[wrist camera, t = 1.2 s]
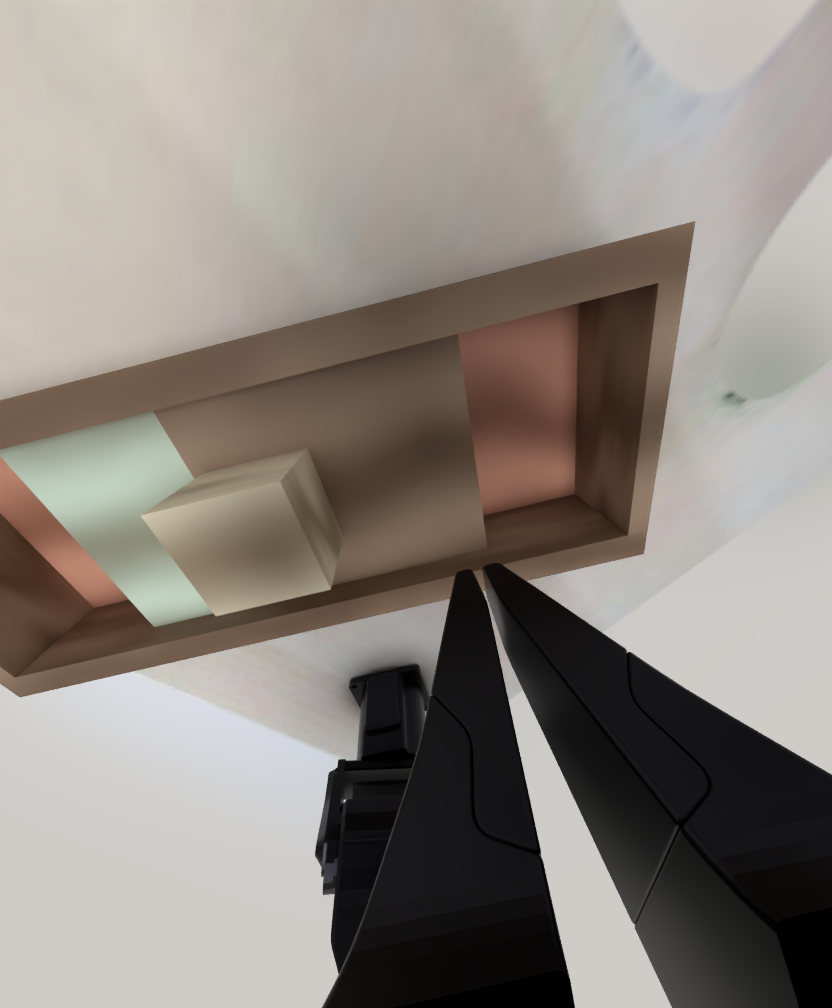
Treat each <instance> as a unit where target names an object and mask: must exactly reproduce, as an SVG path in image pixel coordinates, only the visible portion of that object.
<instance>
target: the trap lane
mask: <svg viewBox="0 0 832 1008" xmlns="http://www.w3.org/2000/svg"><path fill="white" fill-rule="evenodd" d="M694 226H695V221H694V222H690V223H686V224H682V225H679V226H675V227H671V228H667V229H663V230H659V231H655V232H651V233H648V234H644V235H640V236H636V237H632V238H628V239H624V240H620V241H617V242H613V243H609V244H605V245H601V246H597V247H593V248H589V249H586V250H582V251H578V252H574V253H570V254H566V255H562V256H559V257H555V258H551V259H547V260H543V261H539V262H535V263H531V264H528V265H524V266H520V267H516V268H512V269H508V270H504V271H500V272H497V273H493V274H489V275H485V276H481V277H477V278H473V279H469V280H466V281H462V282H458V283H454V284H450V285H446V286H442V287H438V288H435V289H431V290H427V291H423V292H419V293H415V294H411V295H407V296H404V297H400V298H396V299H392V300H388V301H384V302H380V303H376V304H373V305H369V306H365V307H361V308H357V309H353V310H349V311H345V312H342V313H338V314H334V315H330V316H326V317H322V318H318V319H314V320H311V321H307V322H303V323H299V324H295V325H291V326H287V327H283V328H280V329H276V330H272V331H268V332H264V333H260V334H256V335H252V336H249V337H245V338H241V339H237V340H233V341H229V342H225V343H222V344H218V345H214V346H210V347H206V348H202V349H198V350H194V351H191V352H187V353H183V354H179V355H175V356H171V357H167V358H163V359H160V360H156V361H152V362H148V363H144V364H140V365H136V366H132V367H129V368H125V369H121V370H117V371H113V372H109V373H105V374H101V375H98V376H94V377H90V378H86V379H82V380H78V381H74V382H70V383H67V384H63V385H59V386H55V387H51V388H47V389H43V390H39V391H36V392H32V393H28V394H24V395H20V396H16V397H12V398H8V399H5V400H1V401H0V684H2V685H3V686H5V687H6V688H8V689H9V690H10V691H12V692H13V693H15V694H16V695H17V696H19V697H23V696H27V695H32V694H36V693H41V692H45V691H49V690H54V689H58V688H62V687H67V686H71V685H75V684H80V683H84V682H88V681H92V680H97V679H102V678H106V677H110V676H115V675H119V674H123V673H128V672H132V671H136V670H141V669H145V668H150V667H154V666H158V665H163V664H167V663H171V662H176V661H180V660H184V659H189V658H193V657H197V656H202V655H206V654H210V653H215V652H219V651H223V650H228V649H232V648H236V647H241V646H245V645H250V644H254V643H258V642H263V641H267V640H271V639H276V638H280V637H284V636H289V635H293V634H297V633H302V632H306V631H310V630H315V629H319V628H323V627H328V626H332V625H336V624H341V623H345V622H350V621H354V620H358V619H363V618H367V617H371V616H376V615H380V614H384V613H389V612H393V611H397V610H402V609H406V608H410V607H415V606H419V605H423V604H428V603H432V602H437V601H441V600H445V599H450V598H451V593H452V588H453V583H454V579H455V574H456V572H457V571H459V570H464V569H468V568H471V569H472V570H473V572H474V574H475V576H476V579H477V581H478V583H479V585H480V587H481V590H482V591H484V590H485V584H484V577H483V571H482V567H483V565H485V564H490V563H494V562H499V563H501V564H502V565H504V566H505V567H506V568H508V569H509V570H511V571H512V572H514V573H515V574H517V575H518V576H520V577H521V578H523V579H524V580H525V581H528V580H532V579H537V578H541V577H545V576H550V575H554V574H558V573H563V572H567V571H571V570H576V569H580V568H584V567H589V566H593V565H597V564H602V563H606V562H610V561H615V560H619V559H623V558H628V557H632V556H637V555H641V554H644V549H645V542H646V536H647V529H648V523H649V516H650V510H651V504H652V497H653V491H654V484H655V478H656V471H657V465H658V458H659V452H660V445H661V439H662V433H663V426H664V420H665V413H666V407H667V400H668V394H669V387H670V381H671V374H672V368H673V361H674V355H675V349H676V342H677V336H678V329H679V323H680V316H681V310H682V303H683V297H684V290H685V284H686V277H687V271H688V265H689V258H690V252H691V245H692V239H693V232H694ZM304 448H308V450H309V453H310V455H311V458H312V460H313V463H314V465H315V468H316V470H317V473H318V475H319V478H320V480H321V483H322V485H323V488H324V490H325V493H326V495H327V498H328V500H329V503H330V505H331V508H332V510H333V513H334V515H335V517H336V520H337V522H338V525H339V527H340V530H341V532H342V535H343V540H342V545H341V549H340V553H339V557H338V562H337V566H336V570H335V574H334V579H333V583H332V587H331V590H327V591H323V592H318V593H314V594H310V595H305V596H301V597H297V598H293V599H288V600H284V601H280V602H275V603H271V604H267V605H263V606H258V607H254V608H250V609H245V610H241V611H237V612H233V613H228V614H224V615H220V616H215V615H214V613H213V612H212V611H211V609H210V608H209V607H208V605H207V604H206V603H205V601H204V600H203V599H202V597H201V596H200V595H199V593H198V592H197V591H196V589H195V588H194V587H193V585H192V584H191V583H190V581H189V580H188V579H187V577H186V576H185V575H184V573H183V572H182V571H181V569H180V568H179V567H178V565H177V564H176V563H175V561H174V560H173V559H172V557H171V556H170V555H169V553H168V552H167V551H166V549H165V548H164V547H163V545H162V544H161V542H160V541H159V540H158V538H157V537H156V536H155V534H154V533H153V532H152V530H151V529H150V528H149V526H148V525H147V524H146V522H145V521H144V520H143V518H142V517H141V516H140V515H142V514H143V513H145V512H146V511H148V510H149V509H151V508H152V507H154V506H155V505H157V504H158V503H160V502H161V501H163V500H164V499H166V498H167V497H169V496H170V495H172V494H173V493H175V492H176V491H178V490H179V489H181V488H182V487H184V486H185V485H187V484H188V483H190V482H191V481H193V480H194V479H195V478H197V477H198V476H200V475H201V474H203V473H207V472H211V471H215V470H219V469H223V468H227V467H231V466H235V465H240V464H244V463H248V462H252V461H256V460H260V459H264V458H268V457H272V456H276V455H280V454H284V453H288V452H292V451H296V450H300V449H304Z"/></svg>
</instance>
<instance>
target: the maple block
mask: <svg viewBox="0 0 832 1008" xmlns="http://www.w3.org/2000/svg"><path fill="white" fill-rule="evenodd" d="M140 516H141V517H142V518H143V520H144V521H145V522H146V524H147V525H148V526H149V528H150V529H151V530H152V532H153V533H154V534H155V536H156V537H157V538H158V540H159V541H160V542H161V544H162V545H163V547H164V548H165V549H166V551H167V552H168V553H169V555H170V556H171V557H172V559H173V560H174V561H175V563H176V564H177V565H178V567H179V568H180V569H181V571H182V572H183V573H184V575H185V576H186V577H187V579H188V580H189V581H190V583H191V584H192V585H193V587H194V588H195V589H196V591H197V592H198V593H199V595H200V596H201V597H202V599H203V600H204V601H205V603H206V604H207V605H208V607H209V608H210V609H211V611H212V612H213V613H214V615H215V616H220V615H224V614H228V613H233V612H237V611H241V610H245V609H250V608H254V607H258V606H263V605H267V604H271V603H275V602H280V601H284V600H288V599H293V598H297V597H301V596H305V595H310V594H314V593H318V592H323V591H327V590H331V587H332V583H333V579H334V574H335V570H336V566H337V562H338V557H339V553H340V549H341V545H342V540H343V535H342V532H341V530H340V527H339V525H338V522H337V520H336V517H335V515H334V513H333V510H332V508H331V505H330V503H329V500H328V498H327V495H326V493H325V490H324V488H323V485H322V483H321V480H320V478H319V475H318V473H317V470H316V468H315V465H314V463H313V460H312V458H311V455H310V453H309V450H308V448H304V449H300V450H296V451H292V452H288V453H284V454H280V455H276V456H272V457H268V458H264V459H260V460H256V461H252V462H248V463H244V464H240V465H235V466H231V467H227V468H223V469H219V470H215V471H211V472H207V473H203V474H201V475H200V476H198V477H197V478H195V479H194V480H193V481H191V482H190V483H188V484H187V485H185V486H184V487H182V488H181V489H179V490H178V491H176V492H175V493H173V494H172V495H170V496H169V497H167V498H166V499H164V500H163V501H161V502H160V503H158V504H157V505H155V506H154V507H152V508H151V509H149V510H148V511H146V512H145V513H143V514H142V515H140Z"/></svg>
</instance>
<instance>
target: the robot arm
mask: <svg viewBox="0 0 832 1008" xmlns="http://www.w3.org/2000/svg"><path fill="white" fill-rule="evenodd" d="M482 571H483V577H484V584H485V590H486V594H487V598H488V601H489V604H490V607H491V610H492V613H493V616H494V619H495V622H496V625H497V628H498V631H499V633H500V636H501V639H502V642H503V645H504V648H505V651H506V653H507V656H508V658H509V660H510V663H511V665H512V667H513V669H514V671H515V674H516V676H517V678H518V680H519V682H520V684H521V686H522V688H523V691H524V693H525V695H526V697H527V699H528V701H529V703H530V705H531V708H532V710H533V712H534V714H535V716H536V718H537V720H538V723H539V725H540V727H541V729H542V731H543V733H544V735H545V737H546V739H547V741H548V744H549V746H550V748H551V750H552V752H553V754H554V756H555V759H556V761H557V763H558V765H559V767H560V769H561V771H562V774H563V776H564V778H565V780H566V782H567V784H568V786H569V788H570V791H571V793H572V795H573V797H574V799H575V801H576V803H577V805H578V808H579V810H580V812H581V814H582V816H583V818H584V821H585V823H586V825H587V827H588V829H589V831H590V833H591V835H592V838H593V840H594V842H595V844H596V846H597V848H598V850H599V852H600V854H601V857H602V859H603V861H604V863H605V865H606V867H607V870H608V872H609V873H610V876H611V878H612V880H613V882H614V884H615V887H616V889H617V891H618V893H619V895H620V897H621V899H622V901H623V903H624V905H625V908H626V910H627V912H628V914H629V916H630V918H631V921H632V922H633V923H634V924H635V929H636V931H637V934H638V936H639V938H640V940H641V942H642V944H643V946H644V949H645V951H646V953H647V955H648V957H649V959H650V961H651V964H652V966H653V968H654V970H655V972H656V974H657V976H658V978H659V981H660V983H661V985H662V987H663V989H664V991H665V993H666V996H667V997H668V1000H669V1002H670V1004H671V1006H672V1008H832V775H831V774H830V773H828V772H826V771H824V770H823V769H821V768H819V767H818V766H816V765H814V764H812V763H810V762H809V761H807V760H806V759H804V758H802V757H800V756H799V755H797V754H795V753H794V752H792V751H790V750H788V749H787V748H785V747H783V746H782V745H780V744H778V743H776V742H774V741H773V740H771V739H770V738H768V737H766V736H764V735H762V734H761V733H759V732H758V731H756V730H754V729H752V728H750V727H749V726H747V725H745V724H744V723H742V722H740V721H739V720H737V719H735V718H734V717H732V716H730V715H728V714H727V713H725V712H723V711H722V710H720V709H718V708H717V707H715V706H714V705H712V704H710V703H708V702H707V701H705V700H704V699H702V698H700V697H698V696H697V695H695V694H694V693H692V692H690V691H689V690H687V689H685V688H684V687H682V686H681V685H679V684H678V683H676V682H675V681H673V680H672V679H670V678H668V677H667V676H665V675H664V674H662V673H661V672H659V671H658V670H656V669H655V668H653V667H652V666H650V665H649V664H647V663H646V662H644V661H643V660H641V659H640V658H639V657H637V656H636V655H634V654H633V653H631V652H628V653H627V650H626V649H625V648H624V647H622V646H621V645H619V644H618V643H616V642H615V641H613V640H612V639H610V638H609V637H607V636H606V635H605V634H603V633H602V632H600V631H599V630H597V629H596V628H594V627H593V626H591V625H590V624H588V623H587V622H586V621H584V620H583V619H581V618H580V617H578V616H577V615H575V614H574V613H572V612H571V611H569V610H568V609H567V608H565V607H564V606H562V605H561V604H559V603H558V602H556V601H555V600H553V599H552V598H550V597H549V596H547V595H546V594H545V593H543V592H542V591H540V590H539V589H537V588H536V587H534V586H533V585H531V584H530V583H528V582H527V581H525V580H524V579H523V578H521V577H520V576H518V575H517V574H515V573H514V572H512V571H511V570H509V569H508V568H506V567H505V566H504V565H502V564H501V563H499V562H494V563H490V564H485V565H483V567H482ZM349 688H350V690H351V692H352V694H353V696H354V698H355V699H356V701H357V703H358V705H359V707H360V709H361V711H360V724H359V738H358V751H357V760H354V761H346V759H340V760H338V767H337V768H336V769H335V770H333V771H331V772H330V773H329V775H328V783H327V790H326V797H325V803H324V808H323V813H322V819H321V824H320V828H319V834H318V839H317V844H316V851H315V856H316V858H317V860H318V862H319V863H320V865H321V867H322V872H321V876H322V877H324V882H323V895H328V894H335V897H334V908H333V919H332V929H331V945H332V950H333V954H334V958H335V961H336V965H337V969H338V973H339V975H338V978H337V980H336V981H335V984H334V986H333V987H332V989H331V991H330V993H329V995H328V997H327V999H326V1001H325V1003H324V1005H323V1007H322V1008H575V1005H574V1000H573V994H572V988H571V983H570V978H569V974H568V969H567V965H566V961H565V957H564V953H563V948H562V944H561V940H560V936H559V931H558V927H557V923H556V918H555V913H554V909H553V905H552V900H551V896H550V891H549V887H548V882H547V878H546V873H545V868H544V864H543V861H542V858H541V850H540V845H539V841H538V836H537V831H536V827H535V822H534V817H533V813H532V808H531V803H530V799H529V794H528V789H527V785H526V780H525V776H524V771H523V766H522V762H521V757H520V752H519V747H518V743H517V738H516V734H515V729H514V724H513V720H512V715H511V710H510V706H509V701H508V696H507V692H506V687H505V682H504V678H503V673H502V668H501V664H500V659H499V654H498V650H497V645H496V641H495V636H494V631H493V627H492V622H491V617H490V613H489V608H488V605H487V602H486V599H485V596H484V594H483V592H482V590H481V587H480V585H479V583H478V581H477V579H476V576H475V574H474V572H473V570H472V569H471V568H468V569H464V570H459V571H457V572H456V574H455V579H454V583H453V588H452V593H451V598H450V603H449V608H448V612H447V617H446V622H445V627H444V632H443V636H442V641H441V646H440V651H439V656H438V661H437V665H436V670H435V675H434V680H433V685H432V689H431V695H432V696H429V693H428V691H427V688H426V685H425V682H424V679H423V676H422V673H421V670H420V668H419V667H418V666H409V667H405V668H400V669H396V670H391V671H387V672H383V673H378V674H374V675H369V676H365V677H360V678H356V679H352V680H351V681H350V682H349ZM425 711H427V712H426V717H425ZM344 799H347V800H346V801H345V803H343V801H344Z"/></svg>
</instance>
